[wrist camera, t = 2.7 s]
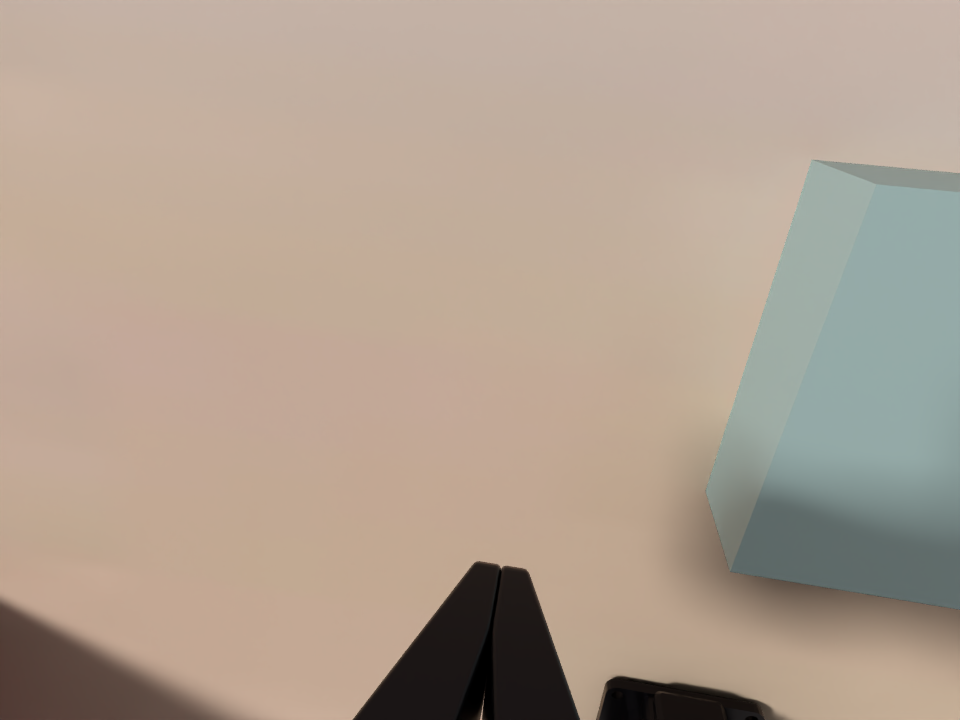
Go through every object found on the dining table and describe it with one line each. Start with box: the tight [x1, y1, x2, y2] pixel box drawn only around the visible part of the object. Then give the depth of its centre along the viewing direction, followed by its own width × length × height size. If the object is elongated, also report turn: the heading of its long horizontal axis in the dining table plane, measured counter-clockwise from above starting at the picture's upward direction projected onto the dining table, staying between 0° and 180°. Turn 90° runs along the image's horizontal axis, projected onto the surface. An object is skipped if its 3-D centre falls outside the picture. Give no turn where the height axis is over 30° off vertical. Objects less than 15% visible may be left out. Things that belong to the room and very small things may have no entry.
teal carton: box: [706, 160, 960, 610], centre depth 15 cm, size 11×9×4 cm
